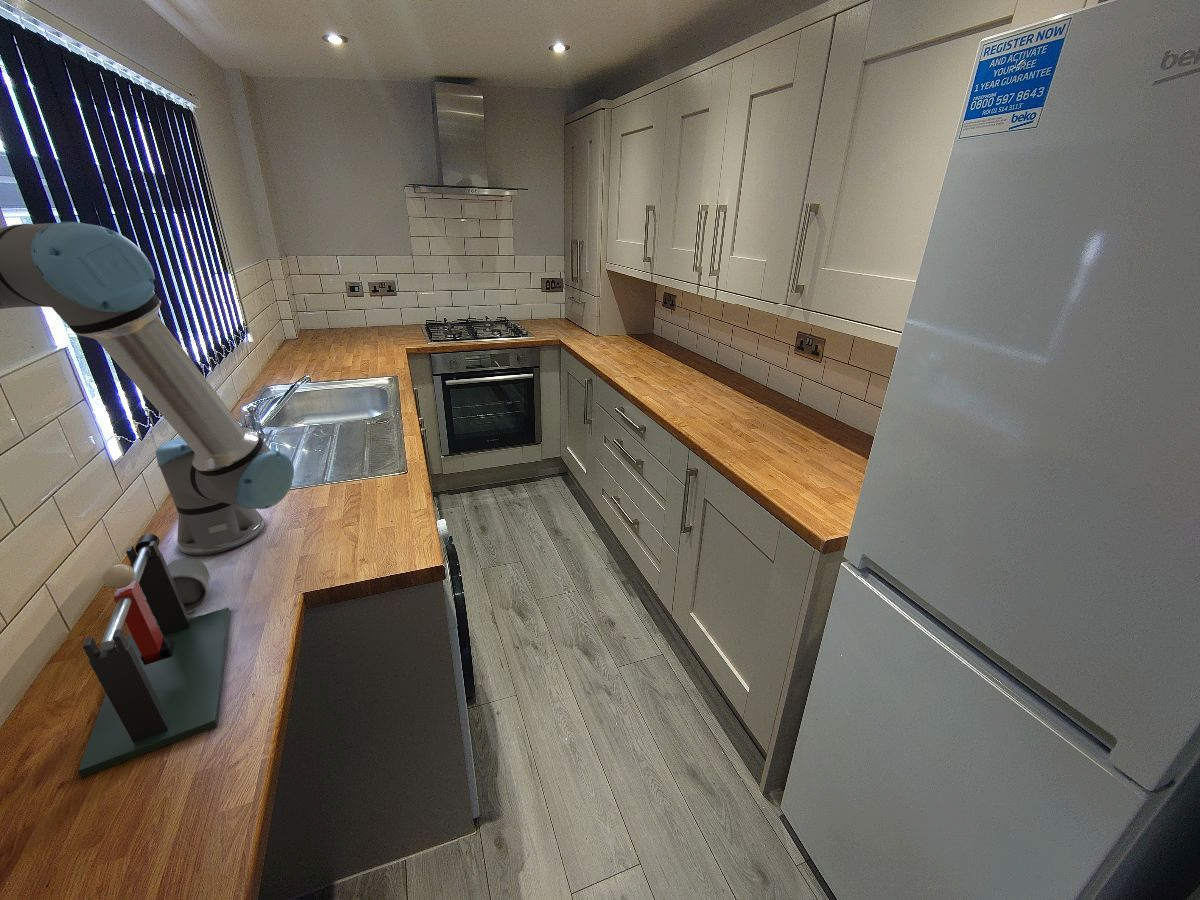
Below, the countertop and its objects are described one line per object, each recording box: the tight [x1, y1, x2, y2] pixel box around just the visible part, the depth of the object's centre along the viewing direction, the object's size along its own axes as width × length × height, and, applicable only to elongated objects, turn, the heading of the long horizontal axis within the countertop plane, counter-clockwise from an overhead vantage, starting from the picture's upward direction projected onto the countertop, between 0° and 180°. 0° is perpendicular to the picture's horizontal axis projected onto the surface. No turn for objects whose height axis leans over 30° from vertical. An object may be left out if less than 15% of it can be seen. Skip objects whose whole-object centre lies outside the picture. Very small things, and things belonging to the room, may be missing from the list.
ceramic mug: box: [145, 557, 210, 617], centre depth 92 cm, size 11×8×8 cm
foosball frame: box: [77, 541, 231, 778], centre depth 74 cm, size 26×14×17 cm, turn 30°
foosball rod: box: [98, 533, 175, 665], centre depth 74 cm, size 26×4×16 cm, turn 30°
